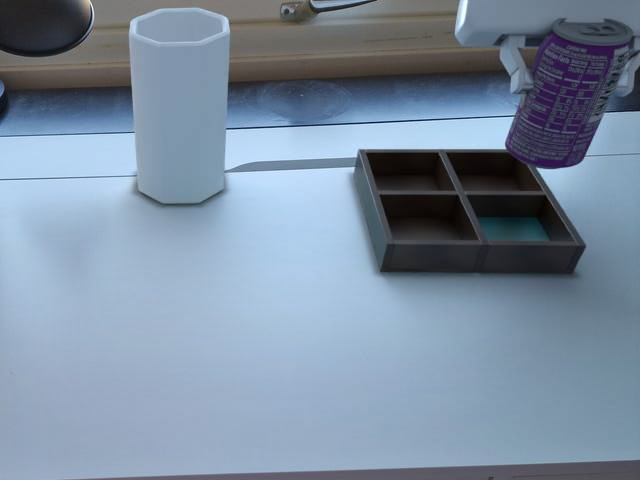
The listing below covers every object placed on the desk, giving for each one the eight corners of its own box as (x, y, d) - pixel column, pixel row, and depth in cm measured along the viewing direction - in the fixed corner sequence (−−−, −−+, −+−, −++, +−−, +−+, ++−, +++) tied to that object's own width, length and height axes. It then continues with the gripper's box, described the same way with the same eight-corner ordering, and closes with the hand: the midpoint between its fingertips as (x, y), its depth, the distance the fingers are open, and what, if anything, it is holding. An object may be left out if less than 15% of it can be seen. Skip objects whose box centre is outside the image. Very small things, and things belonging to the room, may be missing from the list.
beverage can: (571, 141, 69) (625, 14, 60) (589, 177, 64) (651, 45, 56) (496, 137, 70) (539, 11, 61) (509, 173, 65) (558, 42, 57)
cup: (238, 168, 87) (247, 12, 74) (206, 214, 80) (210, 51, 67) (157, 152, 90) (152, 1, 77) (120, 195, 83) (107, 37, 70)
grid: (514, 175, 84) (524, 148, 82) (572, 273, 70) (586, 245, 68) (353, 175, 85) (358, 148, 83) (380, 271, 72) (387, 244, 69)
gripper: (473, -84, 60) (462, 75, 60) (727, -84, 58) (715, 82, 58) (450, -42, 66) (440, 102, 66) (679, -40, 64) (668, 109, 64)
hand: (570, 93), depth 62 cm, fingers closed on beverage can, 7 cm apart
